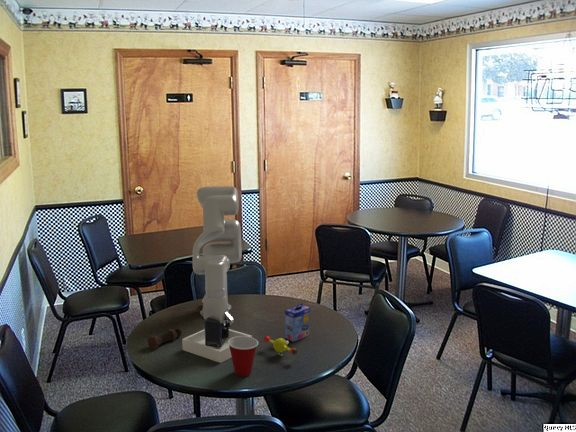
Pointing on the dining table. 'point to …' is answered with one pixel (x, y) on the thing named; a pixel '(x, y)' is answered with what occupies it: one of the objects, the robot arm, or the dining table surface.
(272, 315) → the dining table surface
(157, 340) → the bolt
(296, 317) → the ink cartridge box
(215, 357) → the tray
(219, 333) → the small box
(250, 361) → the plastic cup
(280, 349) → the toy figure
